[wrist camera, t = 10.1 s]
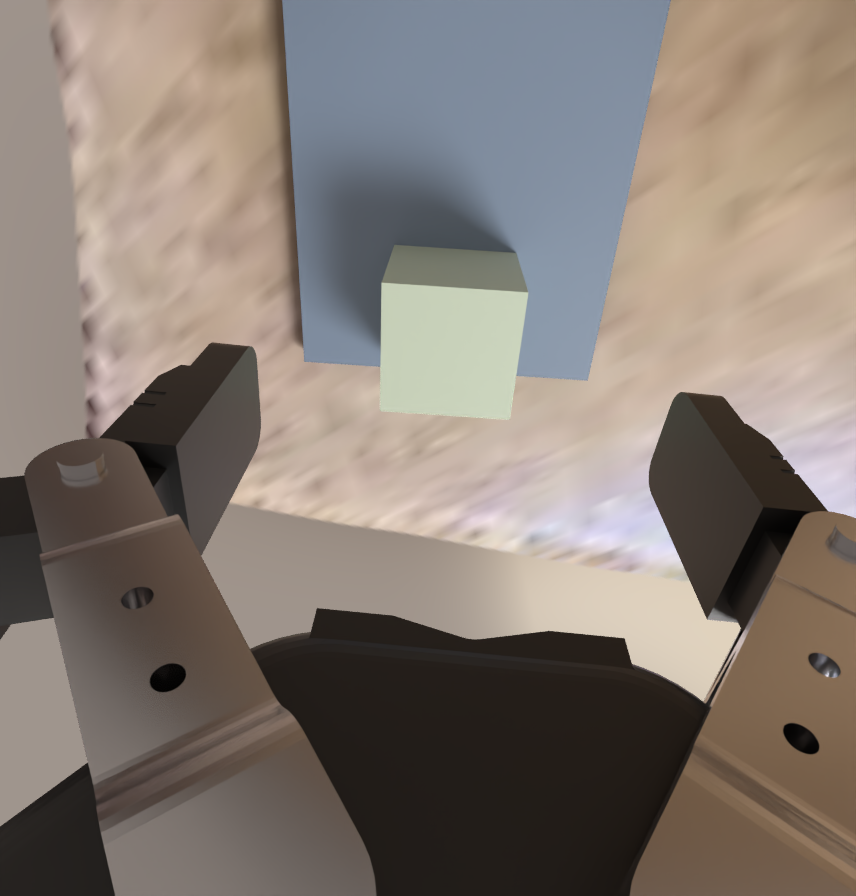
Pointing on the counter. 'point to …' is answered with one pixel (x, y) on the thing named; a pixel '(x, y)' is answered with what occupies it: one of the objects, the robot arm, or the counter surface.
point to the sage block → (451, 331)
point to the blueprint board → (465, 154)
